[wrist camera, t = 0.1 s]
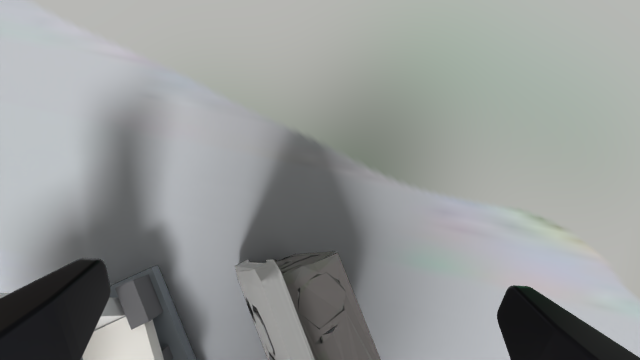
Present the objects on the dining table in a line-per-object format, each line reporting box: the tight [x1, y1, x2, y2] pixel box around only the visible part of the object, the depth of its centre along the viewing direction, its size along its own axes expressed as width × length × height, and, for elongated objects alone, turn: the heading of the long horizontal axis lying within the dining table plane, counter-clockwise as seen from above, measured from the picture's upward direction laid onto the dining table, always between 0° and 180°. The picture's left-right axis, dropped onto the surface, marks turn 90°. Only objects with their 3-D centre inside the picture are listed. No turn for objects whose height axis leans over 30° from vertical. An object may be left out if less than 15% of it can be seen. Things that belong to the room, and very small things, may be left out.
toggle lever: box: [0, 293, 126, 331], centre depth 15 cm, size 2×3×9 cm
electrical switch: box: [235, 251, 381, 360], centre depth 18 cm, size 9×5×9 cm, turn 22°
